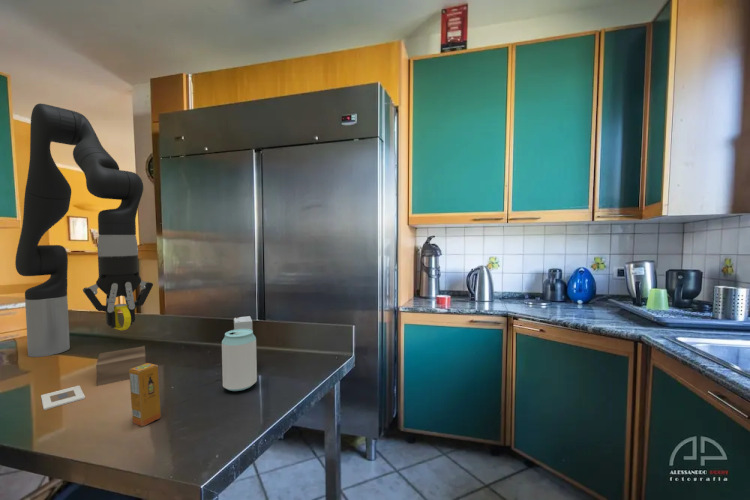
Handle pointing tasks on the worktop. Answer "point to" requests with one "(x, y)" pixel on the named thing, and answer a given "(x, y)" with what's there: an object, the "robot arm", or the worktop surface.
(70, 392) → the card
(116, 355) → the walnut block
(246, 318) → the skincare box
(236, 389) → the can
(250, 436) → the worktop surface
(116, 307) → the watch
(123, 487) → the worktop surface
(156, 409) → the supplement box
